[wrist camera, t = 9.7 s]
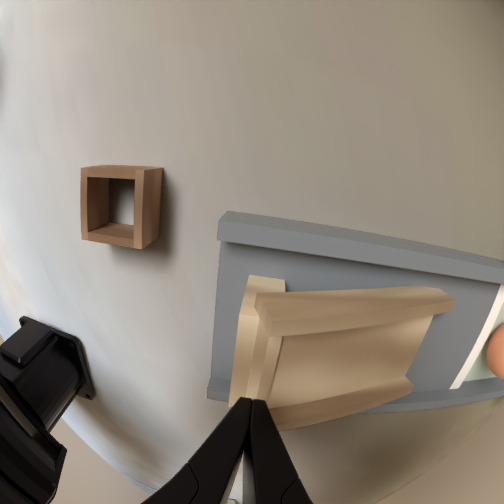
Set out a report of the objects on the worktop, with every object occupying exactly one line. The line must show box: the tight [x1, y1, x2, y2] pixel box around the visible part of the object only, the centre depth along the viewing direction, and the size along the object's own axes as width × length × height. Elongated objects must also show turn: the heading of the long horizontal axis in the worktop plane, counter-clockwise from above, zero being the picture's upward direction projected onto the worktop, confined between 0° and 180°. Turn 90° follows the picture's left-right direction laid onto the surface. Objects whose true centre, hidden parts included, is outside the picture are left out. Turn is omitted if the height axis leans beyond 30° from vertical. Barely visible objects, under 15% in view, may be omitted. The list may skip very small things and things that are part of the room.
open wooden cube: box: [81, 165, 163, 249], centre depth 12 cm, size 3×3×2 cm
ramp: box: [228, 275, 456, 431], centre depth 12 cm, size 6×10×6 cm, turn 83°
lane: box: [207, 211, 504, 413], centre depth 12 cm, size 10×25×4 cm, turn 83°
